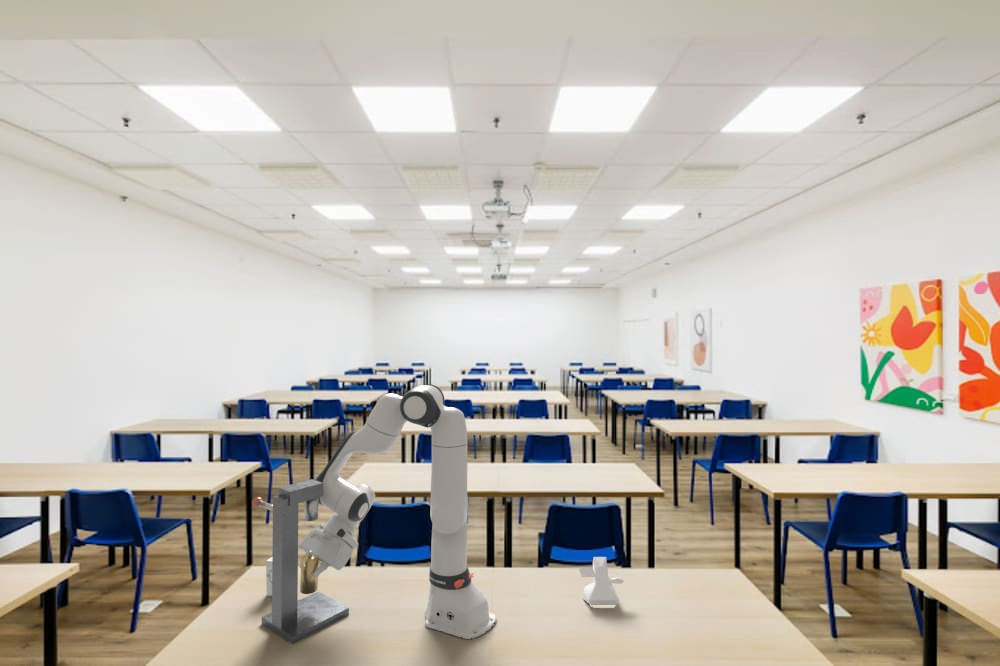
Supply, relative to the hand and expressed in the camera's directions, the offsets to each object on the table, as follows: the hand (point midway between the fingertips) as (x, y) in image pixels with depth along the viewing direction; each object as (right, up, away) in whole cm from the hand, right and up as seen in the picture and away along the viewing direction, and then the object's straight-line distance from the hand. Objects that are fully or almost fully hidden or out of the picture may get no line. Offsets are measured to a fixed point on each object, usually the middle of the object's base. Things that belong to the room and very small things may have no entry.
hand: (307, 572), depth 158 cm
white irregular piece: (+92, -14, +9) cm, 93 cm away
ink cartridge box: (-15, -13, +15) cm, 25 cm away
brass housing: (0, -5, 0) cm, 5 cm away
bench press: (-4, -13, +1) cm, 14 cm away
